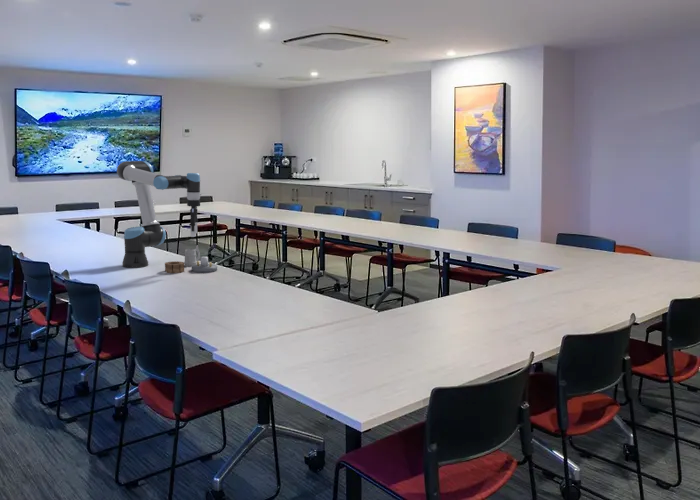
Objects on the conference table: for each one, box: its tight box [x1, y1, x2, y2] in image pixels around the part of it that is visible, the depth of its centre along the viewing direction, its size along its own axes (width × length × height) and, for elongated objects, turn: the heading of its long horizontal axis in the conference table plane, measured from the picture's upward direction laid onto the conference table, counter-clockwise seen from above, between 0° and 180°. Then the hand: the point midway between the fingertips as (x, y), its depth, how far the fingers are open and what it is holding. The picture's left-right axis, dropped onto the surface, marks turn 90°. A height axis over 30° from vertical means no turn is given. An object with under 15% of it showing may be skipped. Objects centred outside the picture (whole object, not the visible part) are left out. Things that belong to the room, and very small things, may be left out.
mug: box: [183, 244, 201, 267], centre depth 392 cm, size 8×12×12 cm, turn 148°
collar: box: [164, 260, 185, 274], centre depth 371 cm, size 11×11×5 cm
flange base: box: [191, 256, 218, 274], centre depth 375 cm, size 15×15×8 cm
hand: (194, 235), depth 374 cm, fingers open, 13 cm apart
